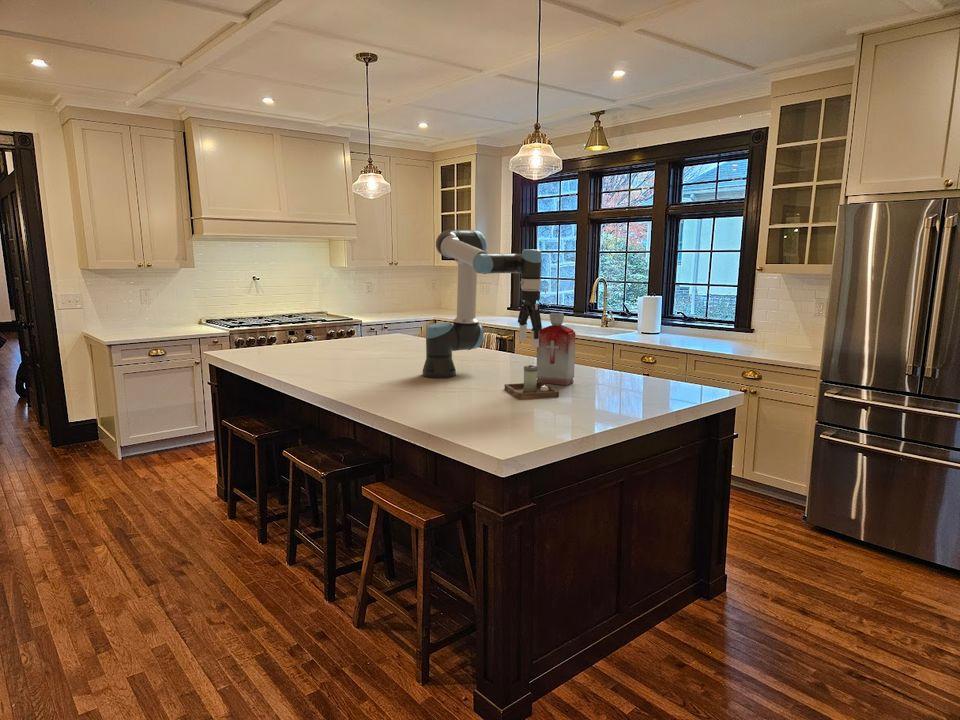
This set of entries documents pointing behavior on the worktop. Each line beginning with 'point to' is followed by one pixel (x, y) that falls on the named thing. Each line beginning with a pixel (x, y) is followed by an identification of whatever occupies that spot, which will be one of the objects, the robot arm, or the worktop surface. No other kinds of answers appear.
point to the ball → (544, 389)
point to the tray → (518, 392)
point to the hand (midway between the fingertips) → (528, 344)
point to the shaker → (530, 379)
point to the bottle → (556, 353)
